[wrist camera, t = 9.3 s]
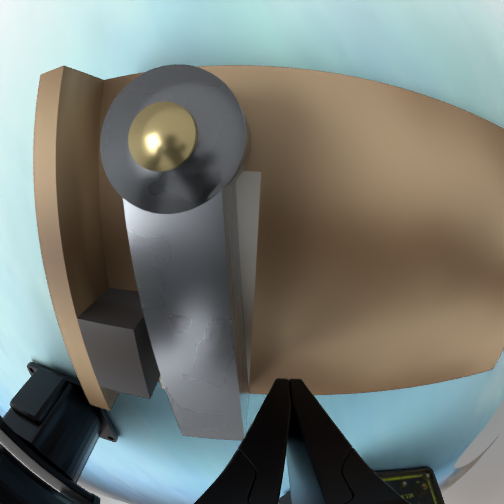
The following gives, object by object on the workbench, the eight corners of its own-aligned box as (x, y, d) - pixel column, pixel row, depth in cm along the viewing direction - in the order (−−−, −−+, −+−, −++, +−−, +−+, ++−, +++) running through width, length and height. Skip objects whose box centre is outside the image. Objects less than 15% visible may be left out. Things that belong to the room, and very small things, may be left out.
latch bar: (142, 99, 7) (93, 80, 4) (249, 85, 7) (240, 49, 4) (184, 388, 10) (167, 439, 8) (261, 391, 10) (259, 447, 8)
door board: (475, 354, 12) (508, 396, 8) (127, 351, 13) (92, 408, 9) (525, 154, 8) (581, 163, 4) (108, 94, 9) (40, 74, 5)
